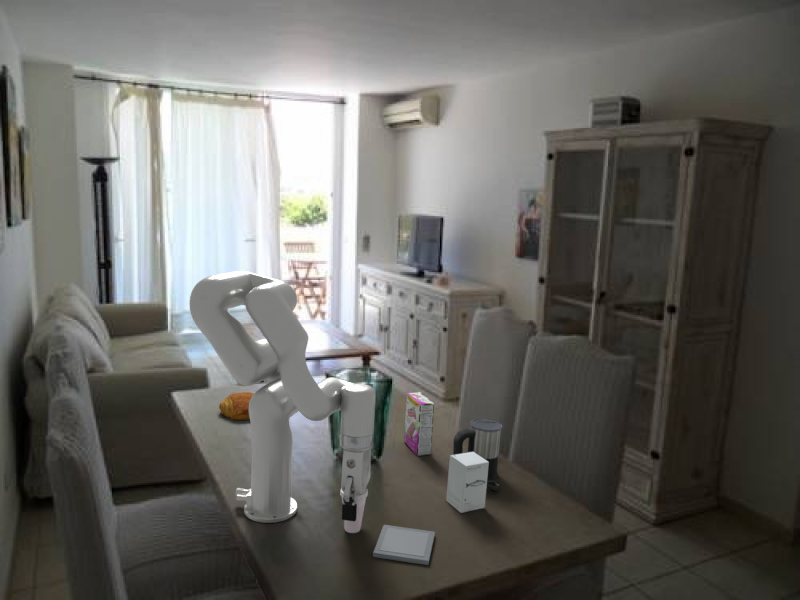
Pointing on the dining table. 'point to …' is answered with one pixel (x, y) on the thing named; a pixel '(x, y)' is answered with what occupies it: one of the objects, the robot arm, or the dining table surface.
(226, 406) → the croissant
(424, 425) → the candy bar box
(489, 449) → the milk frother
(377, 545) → the plate
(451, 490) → the supplement box
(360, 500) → the smoothie
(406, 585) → the dining table surface
